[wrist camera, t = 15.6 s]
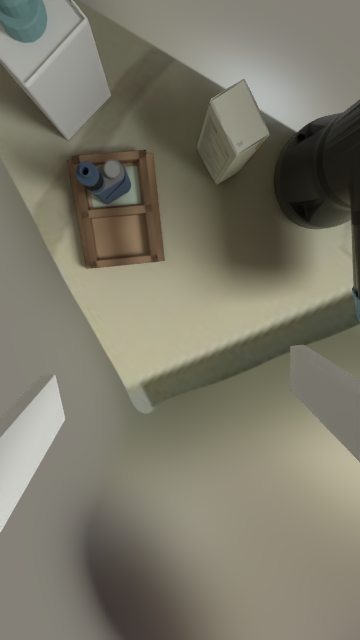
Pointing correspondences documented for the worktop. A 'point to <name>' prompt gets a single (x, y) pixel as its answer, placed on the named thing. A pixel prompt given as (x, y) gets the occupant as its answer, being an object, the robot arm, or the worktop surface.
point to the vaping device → (104, 180)
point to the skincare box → (231, 132)
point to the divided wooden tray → (120, 214)
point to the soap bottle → (53, 59)
